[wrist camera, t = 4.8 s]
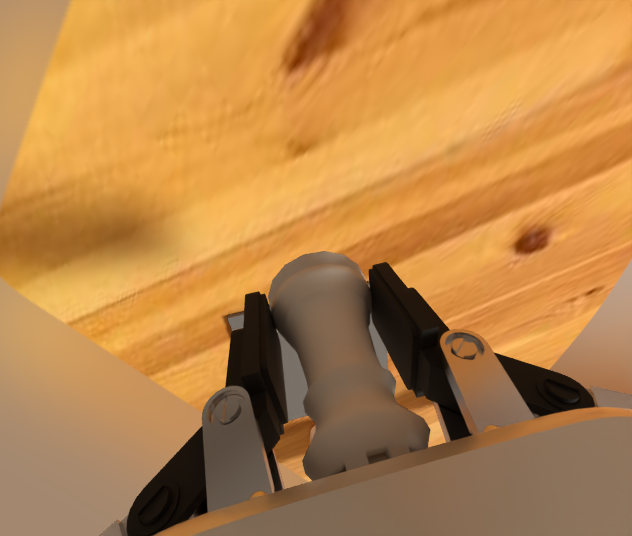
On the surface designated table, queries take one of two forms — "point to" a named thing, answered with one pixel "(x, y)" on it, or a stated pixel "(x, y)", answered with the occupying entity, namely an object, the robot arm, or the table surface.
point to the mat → (293, 369)
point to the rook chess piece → (341, 366)
